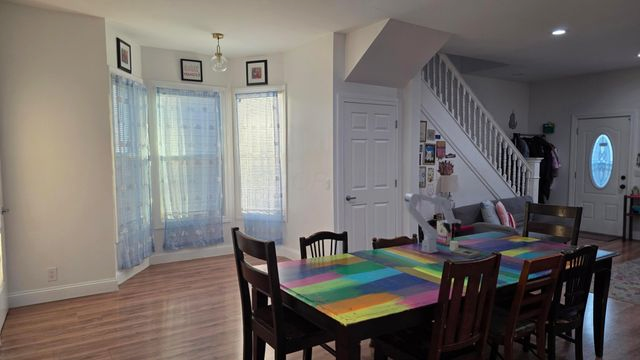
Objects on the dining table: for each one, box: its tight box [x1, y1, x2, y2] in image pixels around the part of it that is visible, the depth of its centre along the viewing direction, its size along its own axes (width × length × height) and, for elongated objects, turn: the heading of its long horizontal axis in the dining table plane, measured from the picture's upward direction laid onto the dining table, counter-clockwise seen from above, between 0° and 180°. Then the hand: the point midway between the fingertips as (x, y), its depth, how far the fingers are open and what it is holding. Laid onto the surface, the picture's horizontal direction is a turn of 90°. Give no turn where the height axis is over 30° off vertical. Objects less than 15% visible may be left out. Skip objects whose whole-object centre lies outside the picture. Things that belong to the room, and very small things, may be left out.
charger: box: [449, 240, 459, 252], centre depth 283 cm, size 4×4×6 cm
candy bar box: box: [436, 219, 453, 246], centre depth 302 cm, size 11×5×16 cm, turn 25°
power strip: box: [450, 248, 481, 259], centre depth 271 cm, size 12×14×2 cm
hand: (454, 232), depth 285 cm, fingers open, 7 cm apart
